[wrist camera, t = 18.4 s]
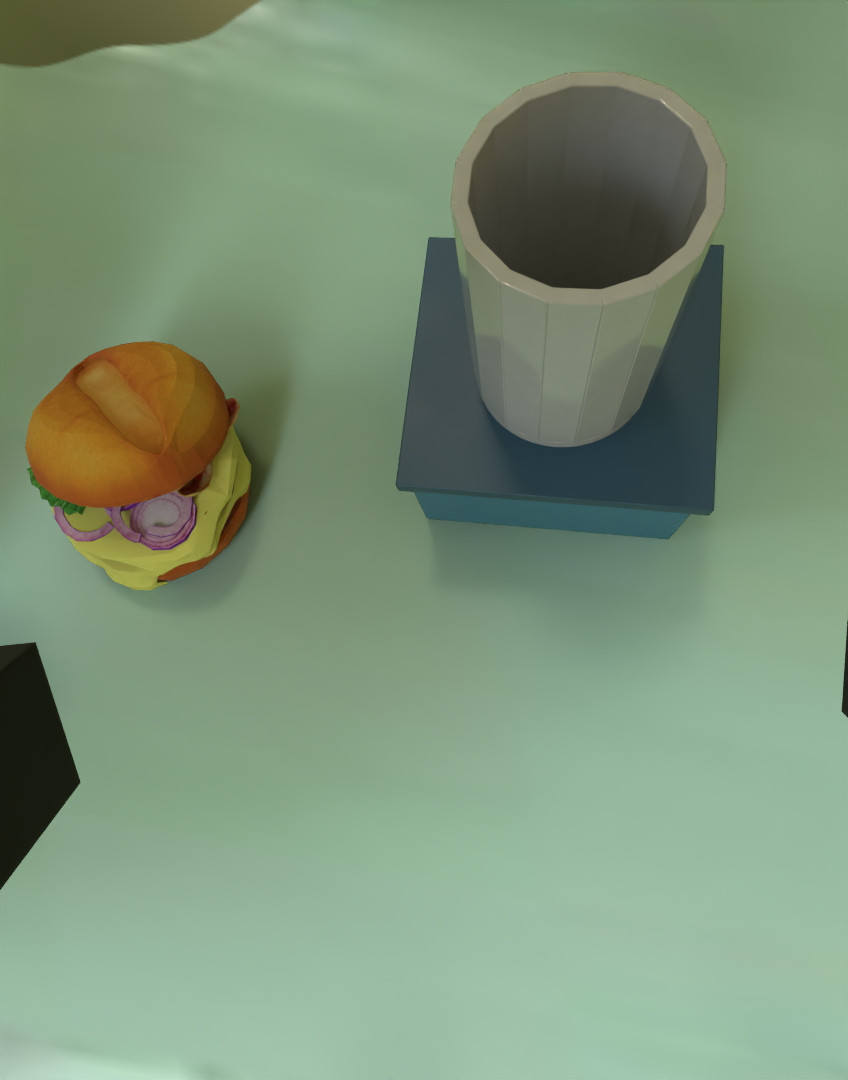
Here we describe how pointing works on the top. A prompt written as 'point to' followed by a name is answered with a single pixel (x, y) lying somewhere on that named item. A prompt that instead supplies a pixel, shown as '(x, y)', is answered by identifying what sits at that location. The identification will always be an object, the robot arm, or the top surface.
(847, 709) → the robot arm
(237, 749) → the top surface
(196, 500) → the cheeseburger
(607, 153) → the cup
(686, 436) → the container
